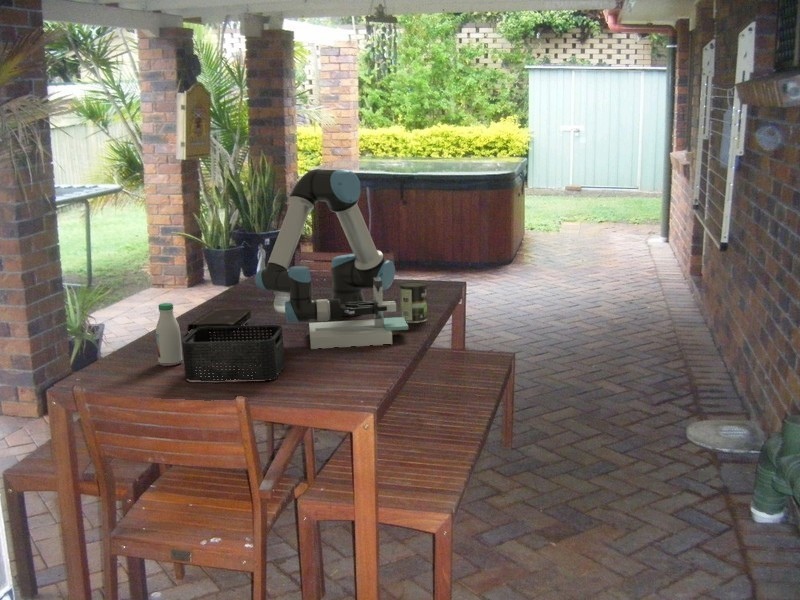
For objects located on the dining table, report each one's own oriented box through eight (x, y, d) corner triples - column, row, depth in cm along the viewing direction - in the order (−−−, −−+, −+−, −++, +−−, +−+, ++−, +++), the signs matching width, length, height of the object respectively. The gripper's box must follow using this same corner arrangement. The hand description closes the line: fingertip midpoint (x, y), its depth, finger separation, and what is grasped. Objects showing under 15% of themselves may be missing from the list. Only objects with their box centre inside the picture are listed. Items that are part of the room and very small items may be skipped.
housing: (309, 333, 333) (309, 322, 332) (385, 329, 336) (385, 318, 335) (310, 349, 312) (310, 337, 311) (392, 344, 315) (392, 333, 314)
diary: (187, 336, 338) (186, 323, 337) (211, 320, 362) (209, 308, 361) (235, 336, 335) (234, 322, 334) (256, 320, 359) (255, 307, 358)
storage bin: (182, 383, 278) (178, 341, 275) (199, 365, 296) (196, 325, 294) (275, 383, 276) (272, 340, 273) (286, 365, 294) (284, 324, 292)
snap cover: (381, 321, 331) (381, 318, 331) (403, 320, 332) (403, 317, 332) (385, 330, 318) (385, 327, 318) (408, 329, 319) (408, 326, 318)
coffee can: (429, 317, 353) (428, 281, 350) (424, 323, 343) (424, 286, 340) (403, 316, 355) (402, 281, 352) (398, 323, 345) (397, 286, 342)
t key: (374, 331, 328) (372, 277, 324) (382, 331, 329) (381, 277, 324) (375, 336, 321) (373, 281, 317) (384, 335, 322) (383, 280, 318)
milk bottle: (187, 361, 302) (182, 302, 297) (174, 367, 294) (169, 307, 290) (167, 359, 304) (162, 301, 300) (153, 366, 297) (148, 306, 293)
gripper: (328, 315, 330) (393, 311, 332) (330, 325, 314) (398, 321, 316) (327, 294, 328) (392, 291, 331) (329, 304, 312) (397, 300, 315)
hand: (395, 306), depth 324 cm, fingers closed on t key, 3 cm apart
